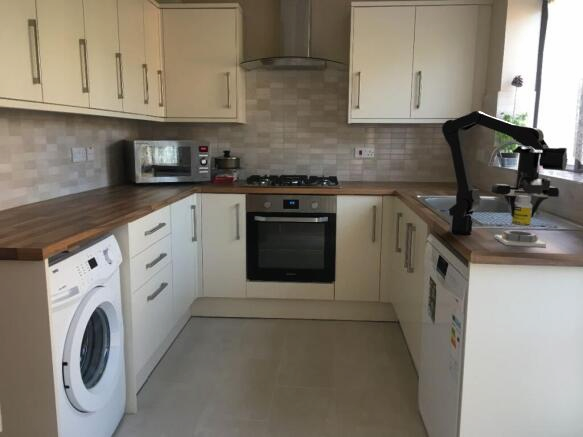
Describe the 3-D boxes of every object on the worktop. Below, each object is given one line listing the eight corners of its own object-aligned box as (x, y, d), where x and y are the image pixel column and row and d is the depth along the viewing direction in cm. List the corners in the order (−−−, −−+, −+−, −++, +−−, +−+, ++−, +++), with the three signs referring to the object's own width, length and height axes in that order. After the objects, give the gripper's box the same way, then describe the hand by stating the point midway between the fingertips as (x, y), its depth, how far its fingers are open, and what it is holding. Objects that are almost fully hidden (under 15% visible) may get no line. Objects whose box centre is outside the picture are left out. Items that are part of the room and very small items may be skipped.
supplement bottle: (509, 226, 150) (512, 195, 148) (513, 224, 154) (517, 194, 153) (527, 228, 147) (531, 197, 145) (531, 226, 151) (535, 196, 149)
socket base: (505, 244, 147) (506, 235, 146) (494, 237, 157) (495, 228, 157) (545, 247, 145) (546, 237, 145) (531, 239, 156) (532, 230, 156)
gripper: (505, 168, 140) (499, 219, 143) (571, 171, 139) (563, 223, 141) (493, 166, 151) (488, 214, 154) (554, 168, 149) (547, 217, 152)
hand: (521, 217), depth 150 cm, fingers closed on supplement bottle, 5 cm apart
